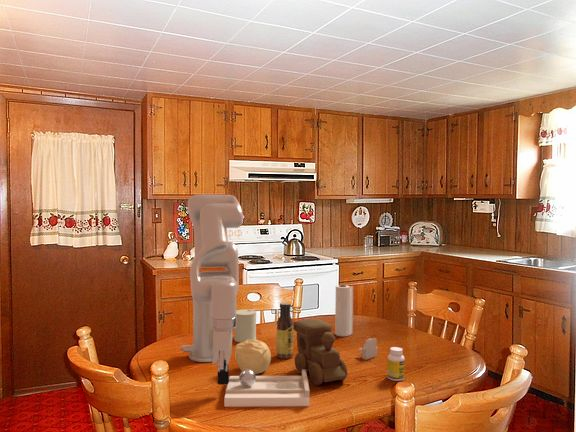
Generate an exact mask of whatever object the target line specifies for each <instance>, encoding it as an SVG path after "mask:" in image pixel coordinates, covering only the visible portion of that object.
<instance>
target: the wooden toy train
mask: <svg viewBox="0 0 576 432" xmlns="http://www.w3.org/2000/svg"><path fill="white" fill-rule="evenodd" d="M292 322H293V331H295V332H296V347H297V353H296V354H295V356H294V367H295V369H296V371H297V372H298V374H300V375H302V370H306V372H307V370H308V374H309V377H310V380H311V383H312V384H314V386H321V384H323V382H324V383H327V382H329V383H330V382H333V381H341V382H342V381H345V379H346V378H347V377H348V368H347V365H346V364H347V363H346V362H345V361H344V359H341V355H340V351H338V350H337V349H336V348H334V347H333V345H334V343H335V341H336V337H335V336H334V334H333V332H332V327H333V325H331V324H330V323H329V322H326V321H324V320H322V319H319V318H309V319H301V320H296V321H292Z"/></svg>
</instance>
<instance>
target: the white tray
mask: <svg viewBox="0 0 576 432" xmlns="http://www.w3.org/2000/svg"><path fill="white" fill-rule="evenodd" d="M239 376H240V375H229V383H228V384H227V385H226V388H225V395H224V401H223V402H224V406H223V407H227V408H228V407H229V408H230V407H233V408H234V407H238V408H239V407H241V408H243V407H246V408H247V407H249V408H250V407H310V393H311V392H310V386H309V379H308V375H307V371H306V370H302V374H301V375H256V380H255V383H254V384H253V385H252V386H250V387H245V386H243V385H242V384H241V383H240V381H239Z"/></svg>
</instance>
